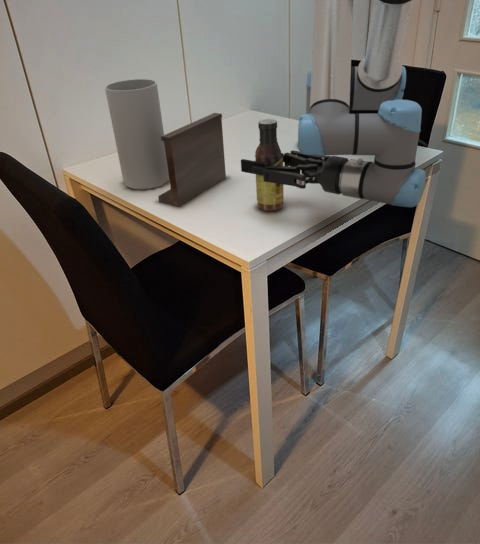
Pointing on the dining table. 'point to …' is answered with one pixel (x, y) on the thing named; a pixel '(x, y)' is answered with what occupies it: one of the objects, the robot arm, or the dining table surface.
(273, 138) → the sauce bottle
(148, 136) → the cylinder vase
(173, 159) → the wooden shelf
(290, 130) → the dining table surface
